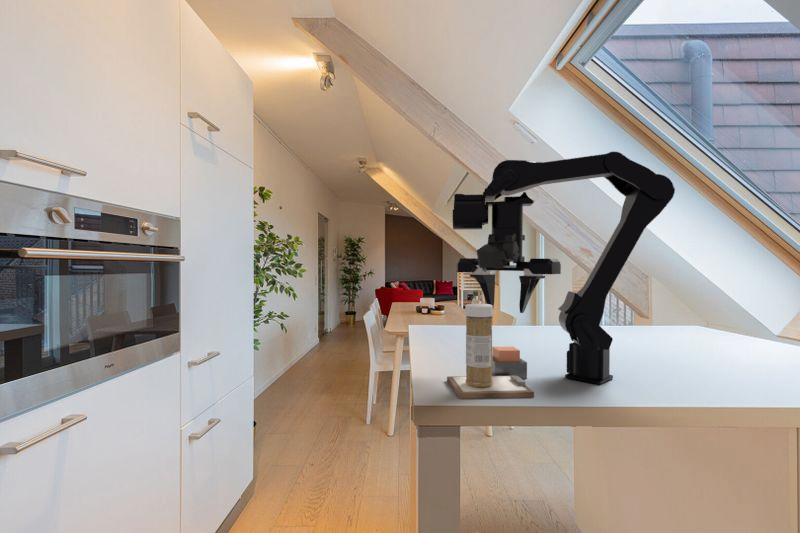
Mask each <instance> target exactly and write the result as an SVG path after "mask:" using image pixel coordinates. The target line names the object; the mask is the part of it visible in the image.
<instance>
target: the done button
mask: <svg viewBox="0 0 800 533" xmlns="http://www.w3.org/2000/svg"><path fill="white" fill-rule="evenodd" d="M492 355H493V359H494V360H495V361H497V362H520V358H521V351H520V349H519V348H516V347H515V346H512V345H511V346H492Z"/></svg>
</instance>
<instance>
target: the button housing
mask: <svg viewBox="0 0 800 533" xmlns="http://www.w3.org/2000/svg"><path fill="white" fill-rule="evenodd" d="M510 375H512V376H518V377H520V378H521V379H522V380H524V379H525V380H526V379H527V378H528V362H527V361H526V360H524V359H522V358H521V357H520V362H497V361H495V360H494V359H493V356H492V376H510Z"/></svg>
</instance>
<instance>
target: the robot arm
mask: <svg viewBox="0 0 800 533" xmlns="http://www.w3.org/2000/svg"><path fill="white" fill-rule="evenodd" d="M595 178H598V179H599V178H605V179H606V180H607V181H608V182H609V184H611V185H612V187H614V188H615V190H617V191H618V193H620V194H621V195H623V196H624V197H625V198H624V202H623V204H622V210H621V214H620V220H619V222H618V224H617V225H616V228H615V229H614V231H613V233H612V235H611V236H610V238H609V240H608V242H607V244H606V246H605V248H604V249H603V251H602V252H601V255H600V256H599V258H598V260H597V262H596V263H595V265H594V267H593V269H592V271H591V272H590V273H589V276H588V277H587V280H586V282H585V283H584V285H583V286H582V287H581V288H580V289H579V290H578V291H577V292H573V291H570V290H569V291H567V294H566V297H565V299H564V301H563V303H562V304H561V305H560V306H559V307H558V308H557V309H558V311H560V312H559V315H558V322H559V325H560V327H561V329H562V330H564V331H565V332H567V334H568V335H569V339H570V340H571V343H568V350H566V373H567V374H566V373H565V374H564V378H566V379H572V380H576V381H581V382H587V383H591V384H595V385H596V384H597V385H602V384H603V383H605V382H607V381H609V380H610V381H611V380H612V379H613V378H614V375H612V374H610V368H611V367H610V363H611V362H610V361H611V360H610V356H611V355H610V354H611V353H610V349H611V345H612V343H613V337H612V336H611V335H610V334H609V333H608V332H607V331H606V330H605V329H604V328H602V327H601V322H602V319H603V317H604V313H605V307H606V306H605V305H606V300H607V298H608V294H609V292H610V291H611V289H612V287H613V286H614V284H615V282H616V280H617V279H618V277H619V275H620V274H621V272H622V270H623V268H624V266H625V265H626V263H627V261H628V259H629V257H630V255H631V253H632V252H633V250H634V248H635V246H636V245H637V244H638V241H639V239H640V238H641V236H642V234H643V233H644V230H645V229H646V228H647V227H648V226H649V224H650V223H652V222H653V221H654V220H655V219H656V218H657V217H658V216H659V215H660V214H661V213H662V212H663V210H664V209H665V208H666V207H667V206H668V204H669V203H670V202H671V201H672V199H673V198H674V195H675V193H676V192H675V191H676V188H675V186H674V183H673V181H672V180H671V179H670V178H669V177H668V176H666V175H664V174H660V173H656V172H654V171H653V170H651V169H650V168H648V167H647V166H645V165H642V164H641V163H638V162H636V161H634V160H631V159H630V158H628V157H627V156H626V155H624V154H623V153H621V152H619V151H610V152H607V153H602V154H601V153H600V154H595V155H588V156H581V157H574V158H573V157H572V158H566V159H558V160H552V161H545V162H542V161H541V162H540V161H531V160H525V159H524V160H523V159H521V160H519V159H506V160H503V161H501V162H499V163H498V164H497V165H496V166H495V168H494V169H493V172H492V177H491V182H490V183H489V184H488V186H487V187H486V188H484V191H483V192H482V194H463V193H455V194H454V199H453V200H454V201H453V209H452V229H453V230H456V231H457V230H460V231H461V230H483V226H485V225H489V207H491V233H489V234H488V237H487V243H485V244H483V245H482V246H481V247H480V248H478V249H477V250H476V255H477V258H470V257H469V258H459V260H458V261H457V263H456V273H467V274H468V273H470V274H469V277H470V278H474V279H475V280H476V282H477V283H478V284H479V287H480V288H481V291H482V293H483V296H484V299H485V304H490V305H492V306H493V309H494V306H495V297H496V295H495V294H496V293H495V292H496V290H495V289H496V274H495V273H494V274H492V273H491V272H492V271H498V272H499V271H507V272H508V271H509V272H511V271H512V272H523V274H524V275H518V278H519V282H520V295H519V304H518V305H519V313H520V314H524V313H525V310H526V308H527V306H528V304H529V301H530V299H531V296H532V294H533V292H534V291H535V289H536V287H537V286H538V283H539V281H540V280H541V279H546V275H561V270H562V268H561V266H562V265H561V262H560V261H559V259H558V258H530V260H529V261H525V257H526V256H523V241H525V239H526V237H525V236H526V235H524V234H523V231H524V230H523V228H524V227H523V225H524V224H523V223H524V222H523V220H524V219H523V218H524V213H523V212H524V211H523V210H524V208H523V207H531V206H532V205H533V204H534V202H535V201H534V199H532V198H531V197H529V195H528V194H527V192H525V191H528V190H530V189H533V188H536V187H539V186H543V185H549V184H557V183H564V182H574V181H581V180H589V179H595ZM518 193H522V194H520V196H518V195H517V196H513V195H516V194H518ZM502 196H503V200H501V201H497V199H499V198H500V197H502ZM511 262H512V263H513V265H511Z"/></svg>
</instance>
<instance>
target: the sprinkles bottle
mask: <svg viewBox="0 0 800 533" xmlns="http://www.w3.org/2000/svg"><path fill="white" fill-rule="evenodd" d="M464 315H465V320H466V322H465V323H466V326H465V328H466V330H465V332H466V333H465V364H466V365H465V366H466V367H465V368H466V370H465V372H466V375H465V376H466V384H468V385H470V386H474V387H489V386H491V385H492V384H493V381H492V356H493V316H494V308H493V306H492V305H490V304H487V303H467V304H466V305H465V307H464Z"/></svg>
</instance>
